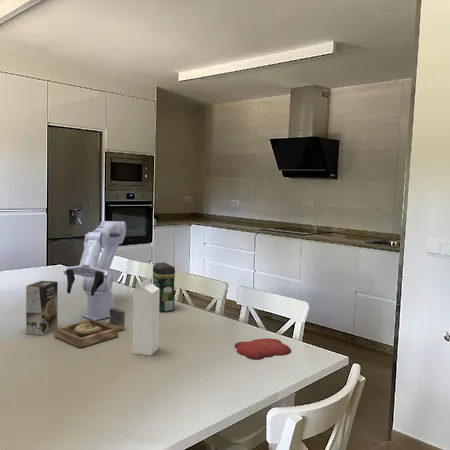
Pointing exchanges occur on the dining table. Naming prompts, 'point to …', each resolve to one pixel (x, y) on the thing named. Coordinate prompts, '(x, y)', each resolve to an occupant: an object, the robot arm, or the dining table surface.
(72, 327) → the pull frame
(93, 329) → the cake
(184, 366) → the dining table surface
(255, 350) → the red lobed slab
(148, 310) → the milk
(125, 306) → the dining table surface
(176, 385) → the dining table surface
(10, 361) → the dining table surface
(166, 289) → the coffee jar
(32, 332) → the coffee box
